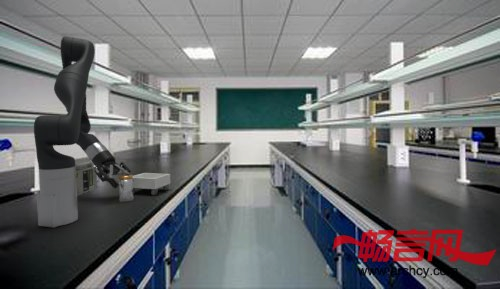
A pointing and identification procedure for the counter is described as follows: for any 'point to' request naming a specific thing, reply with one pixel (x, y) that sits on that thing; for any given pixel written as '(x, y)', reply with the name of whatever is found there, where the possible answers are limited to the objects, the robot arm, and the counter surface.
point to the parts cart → (151, 181)
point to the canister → (126, 188)
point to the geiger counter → (85, 177)
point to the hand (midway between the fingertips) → (124, 184)
